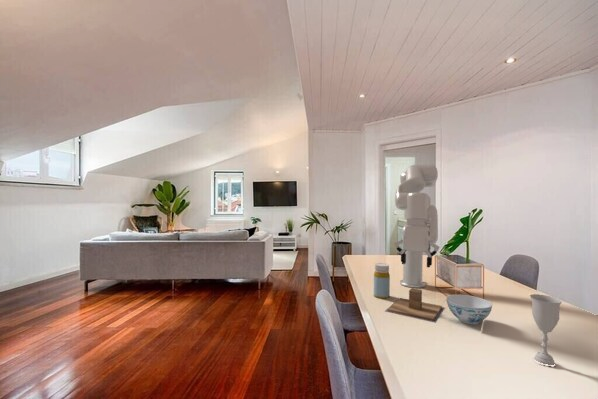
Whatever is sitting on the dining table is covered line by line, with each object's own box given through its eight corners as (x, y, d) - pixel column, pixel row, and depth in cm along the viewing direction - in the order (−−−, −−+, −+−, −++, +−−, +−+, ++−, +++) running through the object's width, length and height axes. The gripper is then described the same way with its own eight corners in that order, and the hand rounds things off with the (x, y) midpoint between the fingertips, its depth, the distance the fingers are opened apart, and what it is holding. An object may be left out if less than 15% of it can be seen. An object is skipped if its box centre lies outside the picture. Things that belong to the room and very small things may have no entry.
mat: (398, 299, 139) (398, 298, 139) (445, 308, 129) (445, 307, 129) (384, 312, 124) (384, 311, 124) (435, 323, 113) (435, 322, 113)
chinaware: (488, 318, 119) (489, 298, 119) (494, 333, 105) (495, 310, 105) (445, 311, 125) (446, 292, 125) (446, 325, 112) (446, 303, 112)
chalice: (522, 356, 90) (523, 294, 90) (544, 355, 91) (545, 294, 91) (544, 370, 83) (545, 303, 83) (568, 369, 84) (569, 302, 83)
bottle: (387, 295, 146) (388, 263, 145) (390, 300, 139) (391, 266, 138) (372, 294, 146) (373, 262, 146) (374, 299, 139) (375, 266, 139)
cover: (400, 299, 138) (400, 282, 138) (441, 307, 128) (442, 289, 128) (387, 311, 124) (387, 291, 124) (433, 321, 114) (433, 300, 114)
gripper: (441, 223, 124) (440, 266, 124) (397, 221, 134) (397, 261, 134) (437, 224, 118) (437, 269, 118) (392, 222, 128) (391, 264, 127)
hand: (415, 265), depth 126 cm, fingers open, 9 cm apart
